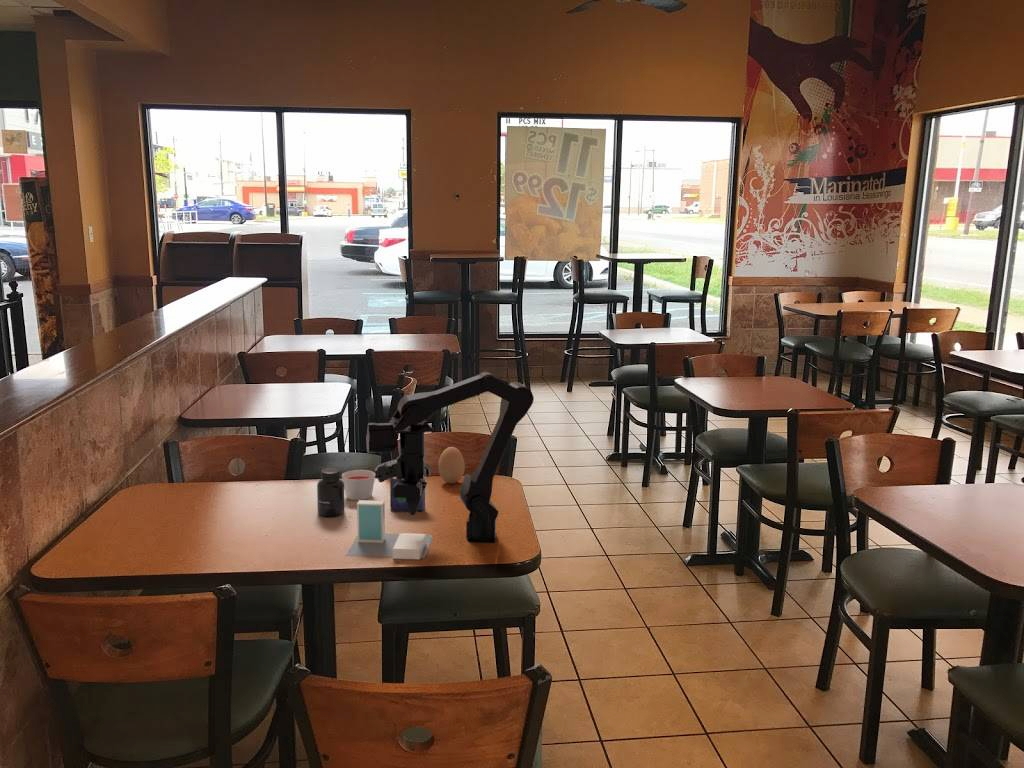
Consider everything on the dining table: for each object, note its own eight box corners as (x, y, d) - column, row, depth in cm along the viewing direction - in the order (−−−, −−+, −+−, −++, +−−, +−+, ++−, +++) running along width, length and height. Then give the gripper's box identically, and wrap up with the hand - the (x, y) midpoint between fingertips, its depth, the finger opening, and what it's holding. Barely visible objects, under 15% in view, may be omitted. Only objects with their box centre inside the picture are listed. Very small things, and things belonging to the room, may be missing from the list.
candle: (338, 494, 240) (338, 472, 239) (370, 490, 244) (370, 468, 242) (347, 503, 232) (346, 481, 231) (379, 499, 236) (379, 477, 234)
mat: (432, 537, 209) (432, 535, 209) (424, 559, 195) (424, 557, 195) (358, 535, 210) (358, 533, 210) (345, 557, 196) (345, 555, 196)
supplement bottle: (318, 520, 219) (317, 475, 217) (317, 511, 226) (315, 467, 223) (345, 518, 221) (344, 473, 219) (343, 509, 227) (342, 465, 225)
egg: (454, 477, 256) (454, 442, 254) (469, 484, 250) (470, 447, 248) (433, 482, 251) (433, 446, 249) (448, 489, 245) (448, 452, 243)
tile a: (425, 533, 203) (419, 549, 194) (425, 544, 203) (419, 559, 194) (399, 533, 203) (392, 548, 194) (400, 543, 204) (393, 559, 194)
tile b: (385, 538, 206) (384, 500, 204) (383, 542, 204) (382, 504, 202) (360, 538, 206) (359, 500, 204) (357, 542, 204) (356, 503, 202)
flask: (425, 509, 229) (425, 470, 227) (424, 513, 226) (424, 473, 224) (391, 508, 229) (390, 469, 227) (389, 512, 226) (388, 472, 224)
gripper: (384, 439, 209) (385, 500, 212) (369, 461, 190) (370, 528, 194) (430, 440, 208) (431, 502, 211) (419, 462, 190) (420, 529, 193)
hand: (412, 514), depth 202 cm, fingers closed
